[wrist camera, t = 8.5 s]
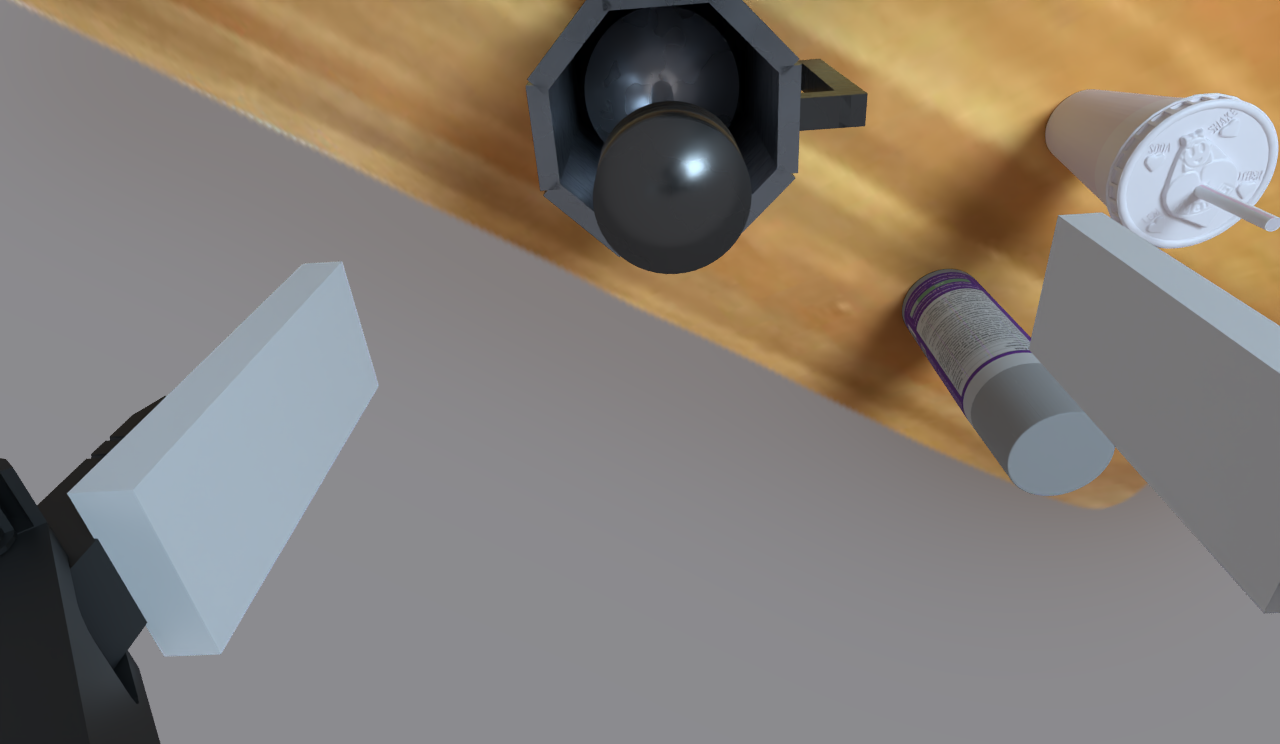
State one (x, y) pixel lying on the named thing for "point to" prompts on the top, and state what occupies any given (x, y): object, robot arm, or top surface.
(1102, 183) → the smoothie
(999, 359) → the container
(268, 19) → the top surface
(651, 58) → the plunger
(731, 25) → the mug
